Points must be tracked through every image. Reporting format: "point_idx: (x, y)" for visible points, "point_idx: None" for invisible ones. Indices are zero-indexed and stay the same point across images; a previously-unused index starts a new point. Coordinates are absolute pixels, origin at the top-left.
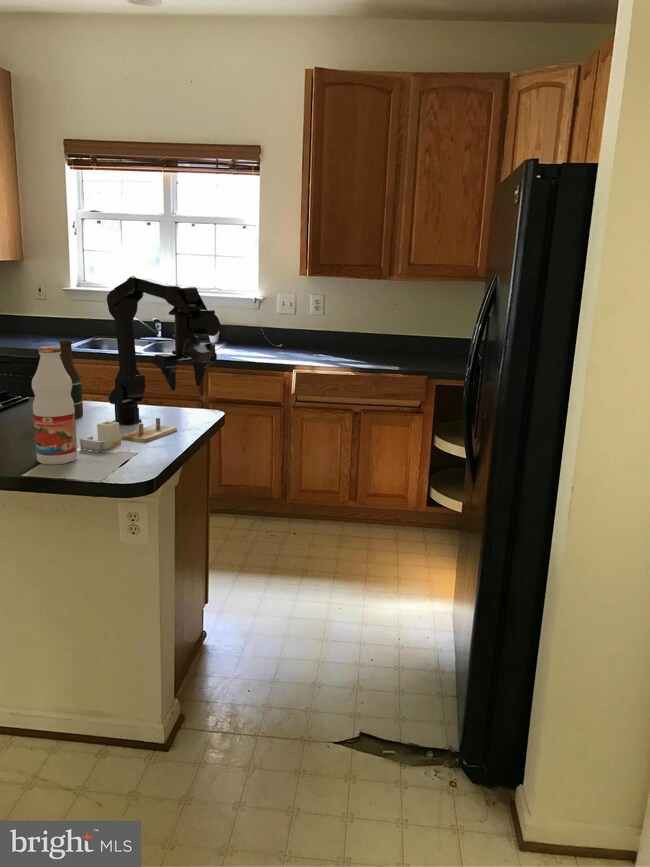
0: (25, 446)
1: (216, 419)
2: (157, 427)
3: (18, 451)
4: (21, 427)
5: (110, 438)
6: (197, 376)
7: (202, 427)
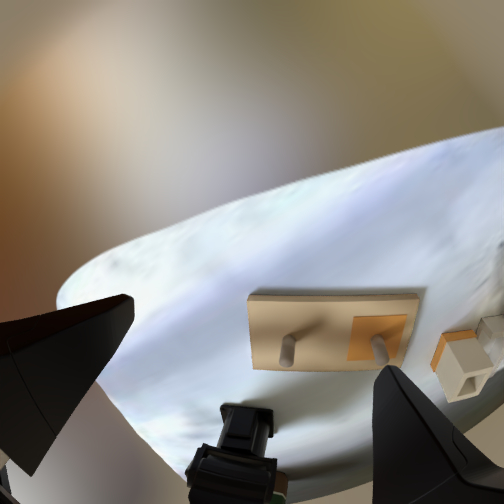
0: (464, 423)
1: (86, 264)
2: (295, 341)
3: (488, 410)
4: (359, 479)
5: (478, 344)
6: (87, 360)
7: (166, 248)
